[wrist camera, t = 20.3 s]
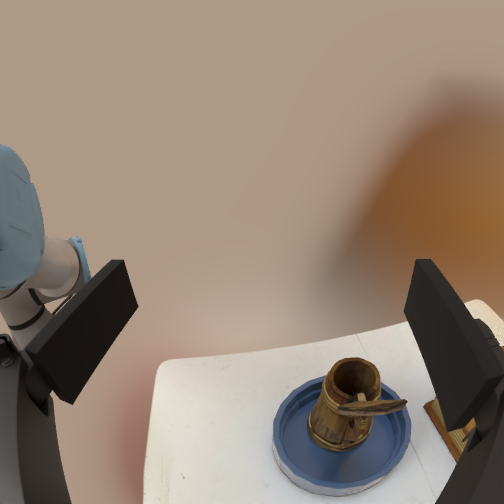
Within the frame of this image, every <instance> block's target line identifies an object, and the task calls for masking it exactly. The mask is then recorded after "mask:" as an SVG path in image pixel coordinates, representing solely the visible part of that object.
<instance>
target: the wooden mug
mask: <svg viewBox="0 0 504 504" xmlns="http://www.w3.org/2000/svg"><path fill="white" fill-rule="evenodd" d="M380 397H381V383H380V375H379V371H378V370H377V368H376V367H375V365H373V364H372V363H371V362H369V361H366V360H364V359H361V358H358V357H357V358H345V359H342V360H339V361H338V362H336V363H335V364H334V366H333V367H332V368H331V370H330V371H329V372H328V373H327V375H326V377H325V379H324V381H323V384H322V391H321V393H320V396H319V398H318V400H317V402H316V404H315V406H314V407H313V408H312V410H311V412H310V413H309V415H308V419H307V430H308V434H309V436H310V437H311V439H312V441H313V442H314V443H315V444H317V445H318V446H319V447H320V448H323V449H326V450H329V451H339V452H344V451H349V450H351V449H354V448H356V447H357V446H359V445H360V444H362V443H363V442H364V441H365V440H366V439H367V438H368V436H369V433H370V431H371V428H372V422H373V418H372V417H373V416H374V415H385V414H389V413H393V412H396V411H399V410H402V409H403V408H404V407H405V405H406V403H407V401H406V400H405V399H402V400H380ZM379 400H380V401H379Z"/></svg>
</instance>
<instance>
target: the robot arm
mask: <svg viewBox="0 0 504 504" xmlns="http://www.w3.org/2000/svg"><path fill="white" fill-rule="evenodd" d="M75 293H76V294H75ZM73 294H75V295H74V296H73ZM66 296H68V297H67V298H66V299H65V300H64V301H63V302H62V303H61V304H60V305H59V306H58V307H57V308H56V309H55V310H54V311H53V312H52V314H51V313H50V312H49V311H48V310H47V309H46V308H45V306H44V304H46V303H48V302H51V301H54V300H57V299H60V298H63V297H66ZM72 296H73V297H72ZM71 297H72V298H71ZM70 298H71V299H70ZM69 299H70V300H69ZM68 300H69V301H68ZM67 301H68V302H67ZM66 302H67V303H66ZM65 303H66V304H65ZM64 304H65V305H64ZM63 305H64V307H63V308H62V309H61V310H60V311H59V312H58V313H57V314H56V312H57V311H58V310H59V309H60V308H61V307H62V306H63ZM137 308H138V304H137V301H136V298H135V295H134V292H133V289H132V286H131V283H130V279H129V276H128V273H127V269H126V266H125V262H124V260H111V261H110V262H109V263H107V265H105V266H104V267H103V268H102V269H101V270H100V271H99V272H98V273H97V274H96V275H95V276H94V277H93V278H91V275H90V271H89V267H88V264H87V260H86V256H85V252H84V248H83V245H82V241H81V239H80V238H78V237H76V238H70V239H68V240H67V241H65V240H62V239H59V238H48V237H47V236H45V235H44V224H43V218H42V212H41V208H40V203H39V200H38V196H37V193H36V189H35V187H34V185H33V183H31V182H30V174H29V172H28V170H27V168H26V166H25V165H24V163H23V161H22V160H21V158H20V157H19V156H18V155H17V154H16V153H15V152H14V151H13V150H12V149H11V148H9V147H7V146H5V145H2V144H0V312H1V313H2V316H3V318H4V319H5V321H6V323H7V325H8V327H9V329H10V331H11V335H12V339H13V341H12V339H11V337H10V336H9V335H8V334H0V504H72V503H71V500H70V496H69V492H68V489H67V485H66V481H65V476H64V472H63V467H62V462H61V457H60V452H59V446H58V440H57V433H56V425H55V416H54V405H53V399H52V397H51V396H50V393H51V391H52V390H53V391H54V392H55V394H56V395H57V396H58V397H59V399H60V400H62V401H65V402H67V403H69V404H72V405H73V403H74V402H75V400H76V398H77V397H78V395H79V394H80V392H81V391H82V389H83V387H84V386H85V384H86V383H87V381H88V380H89V378H90V377H91V375H92V373H93V372H94V370H95V369H96V367H97V366H98V364H99V363H100V361H101V360H102V358H103V357H104V355H105V354H106V352H107V351H108V349H109V348H110V346H111V345H112V344H113V342H114V341H115V339H116V338H117V336H118V335H119V333H120V332H121V331H122V329H123V328H124V326H125V325H126V323H127V322H128V321H129V319H130V318H131V317H132V315H133V314H134V312H135V311H136V310H137ZM404 313H405V315H406V318H407V320H408V322H409V325H410V327H411V329H412V332H413V334H414V337H415V339H416V342H417V344H418V347H419V349H420V352H421V354H422V357H423V359H424V362H425V365H426V367H427V370H428V373H429V376H430V379H431V381H432V384H433V387H434V390H435V393H436V396H437V399H438V403H439V406H440V409H441V412H442V416H443V419H444V423H445V426H446V430H447V432H450V431H454V430H457V429H461V428H464V427H466V425H467V424H468V423H469V422H470V421H471V420H472V418H473V417H474V420H475V423H476V425H475V426H474V427H473V428H472V429H471V430H470V431H469V433H468V434H467V435H466V436H465V437H464V438H463V440H462V441H461V442H463V443H464V442H465V441H466V439H467V438H468V437H469V438H468V440H467V443H466V445H465V447H464V450H463V452H462V454H461V456H460V458H459V460H458V463H457V465H456V467H455V469H454V471H453V473H452V474H451V476H450V478H449V480H448V482H447V484H446V486H445V487H444V489H443V491H442V493H441V494H440V496H439V498H438V499H437V501H436V503H435V504H504V351H503V349H502V347H501V346H499V342H498V341H497V339H496V338H495V336H494V334H493V333H492V331H491V330H490V328H489V327H488V326H487V325H486V324H485V323H484V322H483V321H481V320H480V319H474V318H473V317H472V315H471V314H470V312H469V311H468V309H467V308H466V306H465V305H464V303H463V302H462V300H461V299H460V298H459V296H458V295H457V293H456V292H455V291H454V289H453V288H452V286H451V285H450V284H449V282H448V281H447V280H446V278H445V277H444V276H443V274H442V273H441V272H440V270H439V269H438V268H437V266H436V265H435V264H434V263H433V261H432V260H431V259H416V261H415V266H414V271H413V275H412V280H411V284H410V288H409V292H408V297H407V301H406V304H405V308H404ZM55 314H56V315H55Z"/></svg>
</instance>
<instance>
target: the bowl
mask: <svg viewBox="0 0 504 504" xmlns="http://www.w3.org/2000/svg"><path fill="white" fill-rule="evenodd" d="M325 377H326V376H323V377H320V378H317V379H313V380H310V381H308V382H306V383H305V384H303V385H302V386H300V387H298V388H297V389H295V390H293V391H292V393H291V394H290V395H289V396H288V397H287V398H286V399H285V400H284V401H283V403H282V404H281V405H280V407H279V410H278V412H277V414H276V417H275V419H274V422H273V451H274V454H275V456H276V459H277V462H278V465H279V467H280V469H281V470H282V471H283V472H284V473H285V474H286V475H287V476H288V477H289V479H290V480H291V481H292V482H293V483H295V484H297V485H299V486H301V487H302V488H304V489H306V490H308V491H310V492H313V493H318V494H324V495H331V496H339V495H346V494H353V493H357V492H360V491H362V490H364V489H367V488H369V487H371V486H373V485H375V484H377V483H378V482H379V481H380V480H381V479H382V478H383V477H384V476H386V475H387V474H388V473H389V472H390V471H391V470H392V469H393V468H394V467H395V466H396V464H397V463H398V462H399V461H400V460H401V459H402V457H403V455H404V453H405V451H406V449H407V447H408V445H409V442H410V436H411V420H410V417H409V414H408V411H407V408H406V406H405V407H404V408H403V409H402V410H399V411H396V412H393V413H389V414H385V415H374V416H373V417H372V418H373V422H372V428H371V431H370V433H369V436H368V438H367V439H366V440H365V441H364V442H363V443H362V444H360V445H359V446H357V447H356V448H354V449H351V450H349V451H344V452H339V451H329V450H326V449H323V448H320V447H319V446H318V445H317V444H315V443H314V442H313V441H312V439H311V437H310V436H309V434H308V430H307V419H308V415H309V413H310V412H311V410H312V408H313V407H314V406H315V404H316V402H317V400H318V398H319V396H320V393H321V391H322V384H323V381H324V379H325ZM380 383H381V382H380ZM380 400H401V399H400V398H399V396H398V395H397V394H396V392H394V391H393V390H391V389H390V388H389V387H387V386H386V385H384V384H383V383H381V397H380ZM380 400H379V401H380Z"/></svg>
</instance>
